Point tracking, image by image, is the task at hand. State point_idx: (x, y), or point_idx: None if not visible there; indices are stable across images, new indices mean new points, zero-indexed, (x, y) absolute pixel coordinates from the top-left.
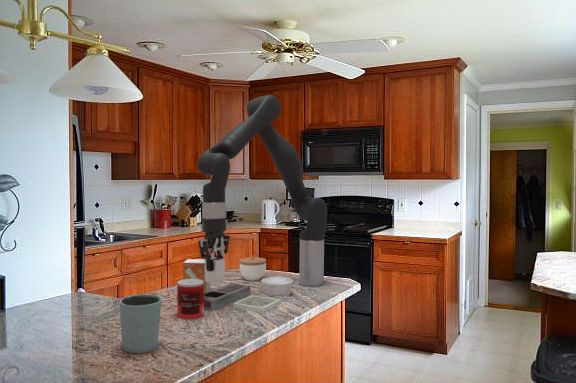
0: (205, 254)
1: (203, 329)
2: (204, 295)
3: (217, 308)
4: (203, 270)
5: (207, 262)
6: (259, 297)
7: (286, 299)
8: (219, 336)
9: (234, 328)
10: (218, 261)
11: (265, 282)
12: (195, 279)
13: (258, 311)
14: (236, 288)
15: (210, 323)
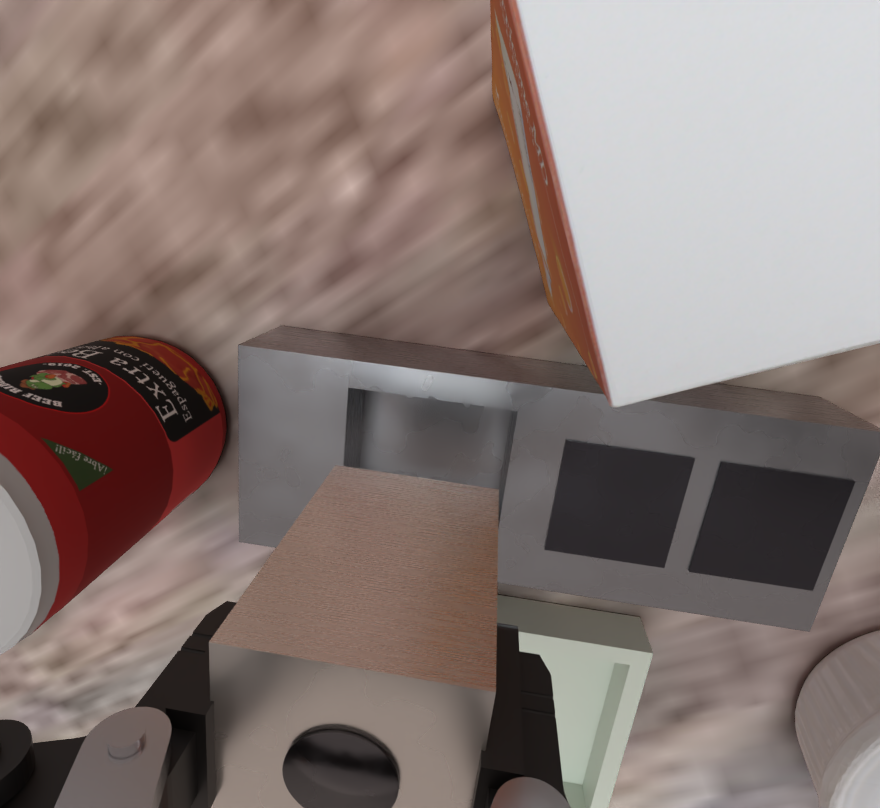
0: (60, 803)
1: None
2: (399, 391)
3: None
4: (580, 332)
5: (163, 701)
6: (616, 709)
7: (773, 780)
8: (22, 671)
9: (146, 691)
10: None
11: (875, 755)
12: (18, 544)
13: None
14: (686, 559)
15: (142, 561)
